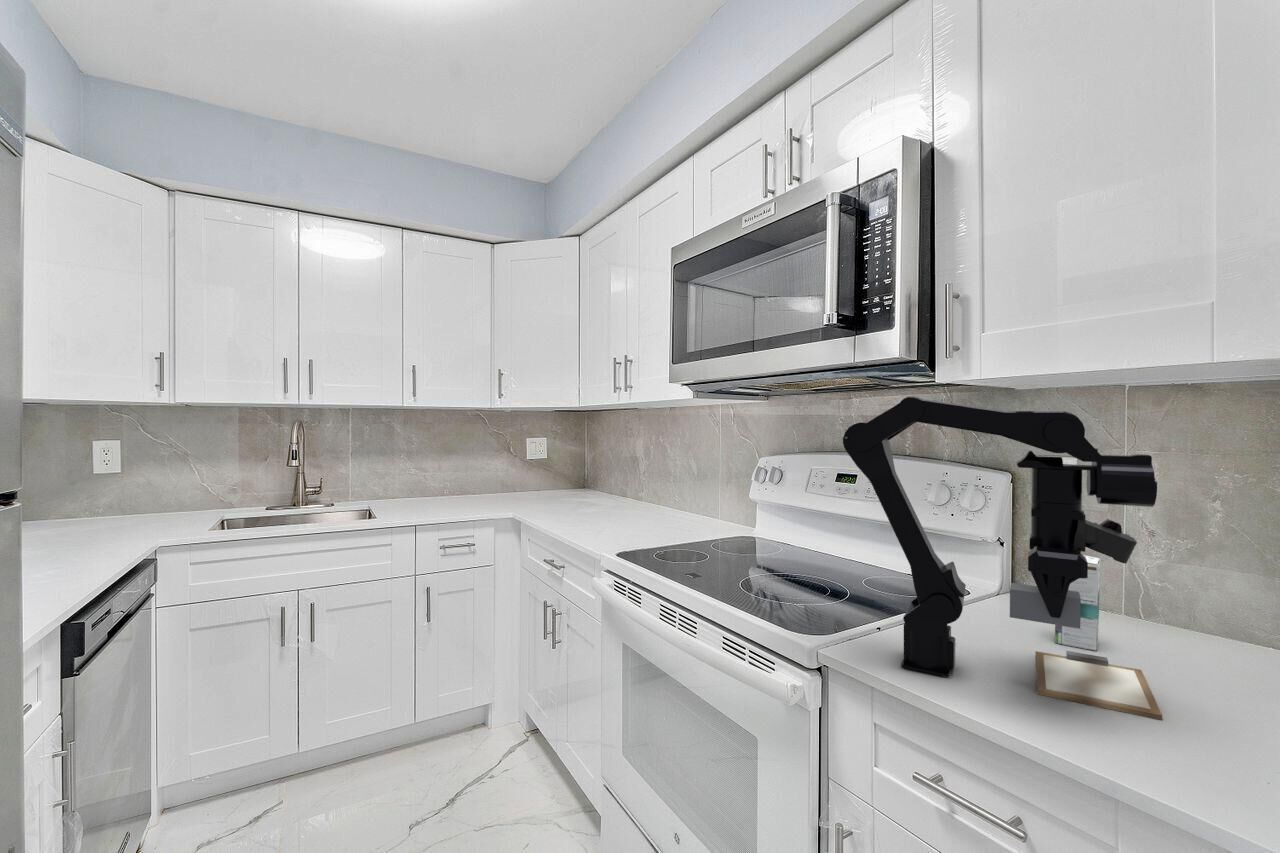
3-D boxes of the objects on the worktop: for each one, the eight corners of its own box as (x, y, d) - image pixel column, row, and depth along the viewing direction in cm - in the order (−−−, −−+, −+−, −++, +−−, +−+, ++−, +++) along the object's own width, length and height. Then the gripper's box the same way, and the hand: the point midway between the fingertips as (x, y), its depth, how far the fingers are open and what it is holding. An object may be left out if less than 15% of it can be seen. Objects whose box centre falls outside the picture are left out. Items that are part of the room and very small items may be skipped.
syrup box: (1057, 634, 103) (1057, 551, 103) (1100, 641, 100) (1100, 556, 99) (1054, 643, 99) (1054, 557, 99) (1099, 652, 95) (1099, 563, 95)
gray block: (1009, 617, 83) (1010, 589, 83) (1010, 609, 86) (1011, 582, 86) (1099, 631, 78) (1099, 601, 77) (1096, 623, 81) (1097, 594, 81)
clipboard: (1037, 694, 81) (1037, 682, 81) (1035, 654, 94) (1035, 644, 94) (1162, 720, 74) (1162, 707, 74) (1141, 673, 87) (1141, 663, 87)
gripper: (1141, 516, 69) (1139, 647, 70) (1123, 498, 85) (1121, 605, 85) (1028, 507, 76) (1027, 628, 76) (1030, 492, 91) (1029, 592, 91)
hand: (1054, 613), depth 82 cm, fingers closed on gray block, 4 cm apart
